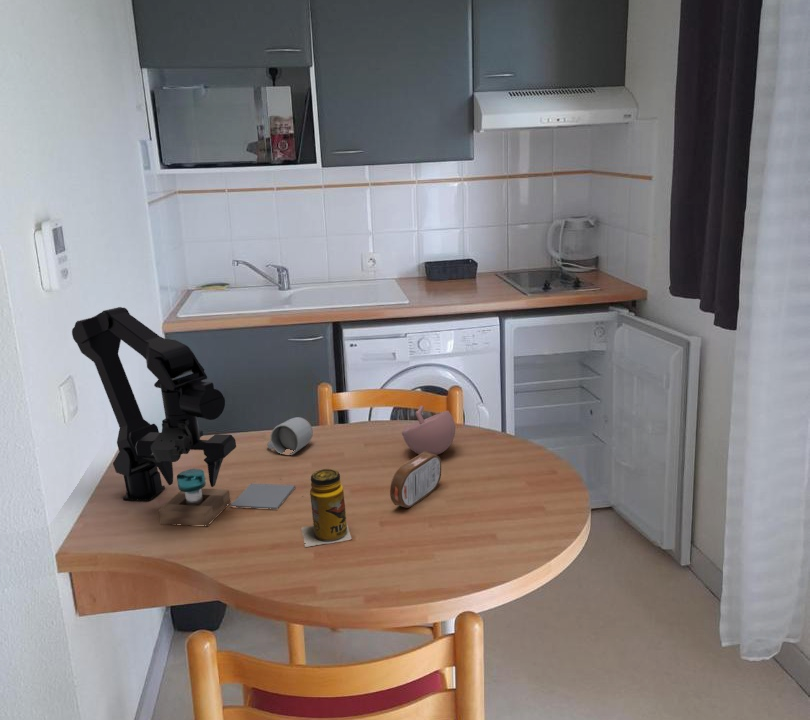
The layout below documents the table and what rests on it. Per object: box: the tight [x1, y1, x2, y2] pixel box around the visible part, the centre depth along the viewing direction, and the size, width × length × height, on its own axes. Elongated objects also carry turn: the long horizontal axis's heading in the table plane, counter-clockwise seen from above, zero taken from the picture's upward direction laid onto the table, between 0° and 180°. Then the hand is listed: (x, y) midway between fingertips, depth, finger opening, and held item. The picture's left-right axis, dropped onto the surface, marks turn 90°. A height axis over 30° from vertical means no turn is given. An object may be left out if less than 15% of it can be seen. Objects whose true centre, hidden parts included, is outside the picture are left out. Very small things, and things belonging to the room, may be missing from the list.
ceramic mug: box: [266, 416, 314, 456], centre depth 177 cm, size 11×8×8 cm
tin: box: [389, 452, 442, 509], centre depth 148 cm, size 15×3×8 cm, turn 145°
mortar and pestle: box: [401, 405, 456, 456], centre depth 168 cm, size 12×12×12 cm
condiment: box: [300, 468, 353, 548], centre depth 136 cm, size 7×8×12 cm
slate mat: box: [230, 483, 296, 509], centre depth 154 cm, size 10×10×1 cm
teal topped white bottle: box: [176, 468, 206, 506], centre depth 148 cm, size 5×5×8 cm
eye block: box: [158, 488, 232, 527], centre depth 148 cm, size 10×10×3 cm
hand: (191, 485), depth 147 cm, fingers open, 9 cm apart
